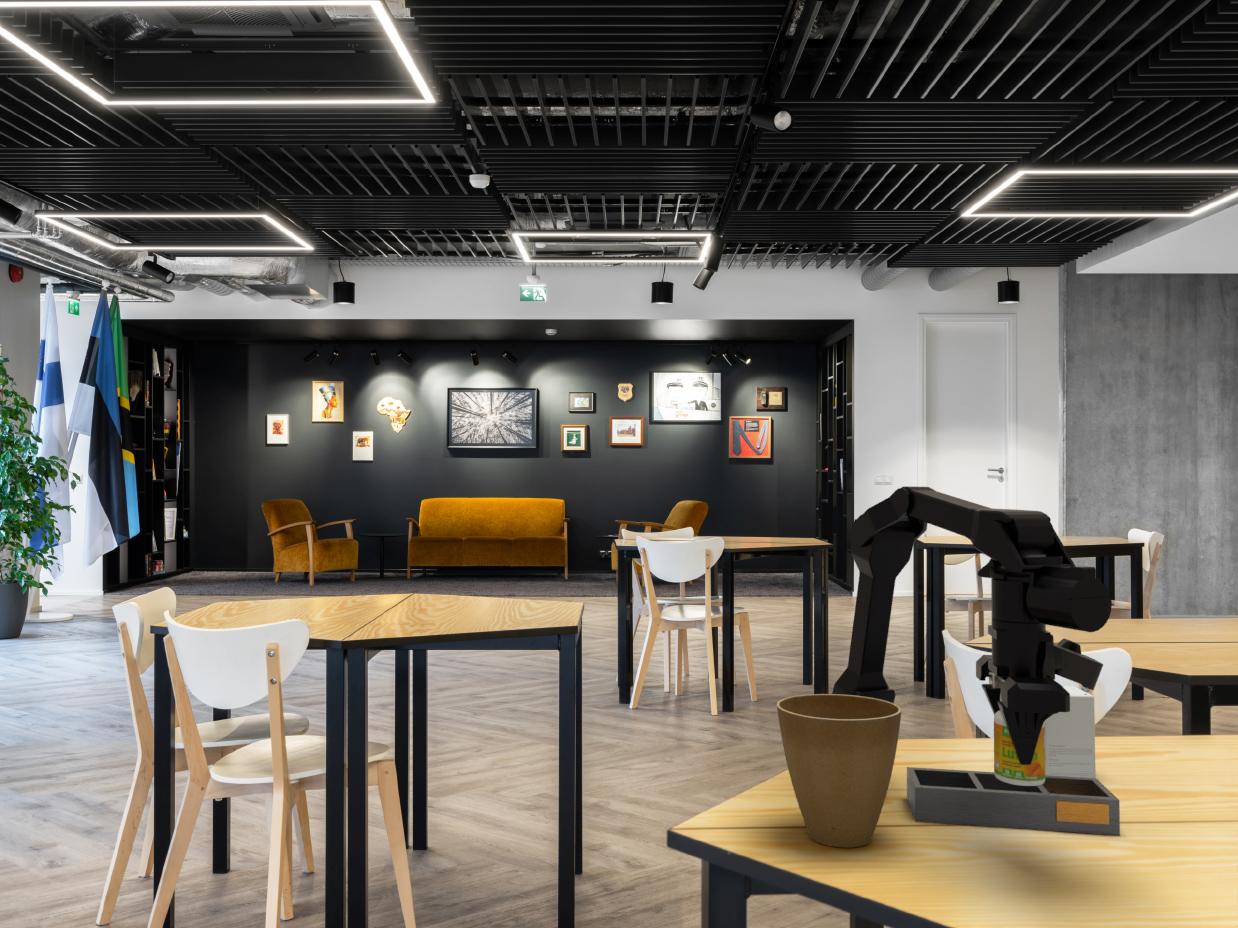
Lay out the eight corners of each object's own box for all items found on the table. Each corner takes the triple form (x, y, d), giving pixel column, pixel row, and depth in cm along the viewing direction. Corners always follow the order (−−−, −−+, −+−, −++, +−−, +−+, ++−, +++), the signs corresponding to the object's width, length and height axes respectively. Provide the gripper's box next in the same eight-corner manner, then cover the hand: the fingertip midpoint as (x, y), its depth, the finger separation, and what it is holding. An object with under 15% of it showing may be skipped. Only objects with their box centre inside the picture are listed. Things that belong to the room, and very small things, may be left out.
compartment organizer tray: (915, 821, 118) (915, 787, 118) (906, 798, 127) (906, 766, 127) (1120, 836, 113) (1120, 800, 113) (1096, 810, 122) (1096, 778, 122)
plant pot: (914, 829, 115) (914, 700, 116) (883, 870, 102) (883, 725, 103) (800, 807, 123) (800, 687, 123) (758, 843, 110) (758, 709, 110)
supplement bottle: (996, 784, 103) (995, 697, 104) (991, 770, 108) (991, 687, 109) (1049, 789, 102) (1048, 700, 102) (1041, 774, 107) (1041, 690, 107)
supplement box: (1076, 767, 142) (1075, 685, 142) (1096, 782, 134) (1095, 695, 135) (1026, 766, 142) (1026, 684, 143) (1044, 781, 135) (1043, 694, 136)
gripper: (1122, 634, 95) (1124, 787, 94) (1070, 612, 113) (1071, 739, 113) (1008, 630, 97) (1009, 780, 97) (974, 609, 115) (975, 734, 115)
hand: (1019, 756), depth 105 cm, fingers closed on supplement bottle, 5 cm apart
